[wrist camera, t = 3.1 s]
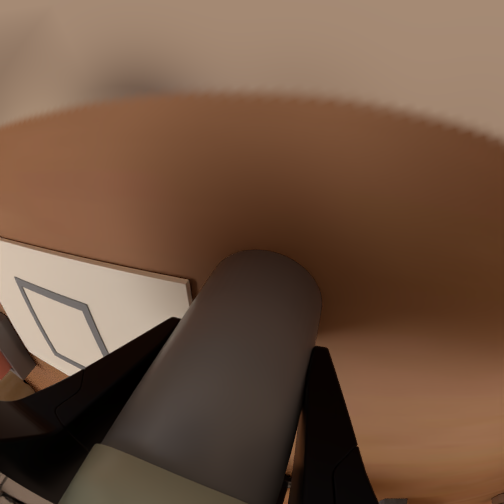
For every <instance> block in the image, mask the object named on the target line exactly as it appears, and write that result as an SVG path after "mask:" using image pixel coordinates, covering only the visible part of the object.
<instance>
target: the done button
mask: <svg viewBox="0 0 504 504" xmlns="http://www.w3.org/2000/svg"><path fill="white" fill-rule="evenodd" d="M11 368H12V367H11V365H10V364H9V363H8V361H7V360H6V358H5V357H4V355H3V354H2V352H1V351H0V380H2V378H3V377H4V376H5V375H6V374H7V372H8V371H9V370H10V369H11Z"/></svg>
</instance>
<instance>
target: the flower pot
mask: <svg viewBox="0 0 504 504" xmlns="http://www.w3.org/2000/svg"><path fill="white" fill-rule="evenodd" d="M33 393H35V391H34V390H33V389H32V388H31V386H30V385H28V384H26V383H24V382H23V380H22V379H21V378H19V377H18V376H17V375H16V374H14V373H13V372H12V371H10V372H9V373H8V374H7V375H5V376H4V377H3V378H2V380H0V400H1V401H14V400H18V399H21V398H24V397H26V396H29V395H31V394H33Z"/></svg>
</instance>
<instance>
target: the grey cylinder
mask: <svg viewBox="0 0 504 504" xmlns="http://www.w3.org/2000/svg"><path fill="white" fill-rule="evenodd" d="M321 308H322V298H321V293H320V290H319V288H318V286H317V284H316V282H315V280H314V279H313V278H312V276H311V275H310V274H309V273H308V272H307V271H306V270H305V269H304V268H303V267H302V266H301V265H299V264H298V263H296V262H295V261H293V260H292V259H290V258H288V257H286V256H284V255H281V254H278V253H275V252H271V251H265V250H246V251H241V252H237V253H235V254H232V255H230V256H228V257H227V258H225V259H224V260H223V261H221V262H220V263H219V265H218V266H217V267H216V268H215V270H214V271H213V273H212V274H211V276H210V277H209V279H208V280H207V282H206V283H205V285H204V286H203V287H202V289H201V290H200V292H199V293H198V295H197V296H196V298H195V299H194V301H193V302H192V304H191V305H190V307H189V308H188V310H187V311H186V313H185V314H184V316H183V317H182V319H181V320H180V322H179V323H178V325H177V326H176V328H175V329H174V331H173V332H172V334H171V335H170V337H169V338H168V340H167V341H166V343H165V344H164V346H163V347H162V349H161V350H160V352H159V354H158V355H157V357H156V358H155V360H154V361H153V363H152V364H151V366H150V367H149V369H148V370H147V372H146V373H145V375H144V376H143V378H142V380H141V381H140V383H139V384H138V386H137V387H136V389H135V390H134V392H133V394H132V395H131V397H130V398H129V400H128V401H127V403H126V404H125V406H124V408H123V409H122V411H121V412H120V414H119V415H118V417H117V419H116V420H115V422H114V423H113V425H112V426H111V428H110V430H109V431H108V433H107V434H106V436H105V438H104V439H103V441H102V442H101V444H95V445H94V446H93V448H92V449H91V451H90V452H89V454H88V456H87V457H86V459H85V460H84V462H83V464H82V465H81V467H80V468H79V470H78V472H77V473H76V475H75V476H74V478H73V480H72V481H71V483H70V485H69V486H68V488H67V490H66V491H65V493H64V494H63V496H62V498H61V499H60V501H59V503H58V504H276V503H277V500H278V496H279V493H280V490H281V486H282V483H283V479H284V476H285V472H286V469H287V465H288V462H289V458H290V454H291V450H292V447H293V443H294V439H295V435H296V431H297V427H298V423H299V419H300V414H301V410H302V406H303V401H304V394H305V387H306V381H307V377H308V372H309V367H310V362H311V357H312V352H313V348H314V346H315V343H316V338H317V332H318V326H319V321H320V315H321Z"/></svg>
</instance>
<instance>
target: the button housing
mask: <svg viewBox="0 0 504 504" xmlns="http://www.w3.org/2000/svg"><path fill="white" fill-rule="evenodd" d="M0 351H1V352H2V354H3V355H4V357H5V358H6V360H7V361H8V363H9V364H10V365H11V367H12V368H11V369H10V370H11V371H12V372H13V373H14V374H16V375H17V376H18V377H19V378H21V379H22V380H24V379H25V378H26V377H27V376H28V374H29V373H30V372H31V371H32V370H33V368H34V367H35V366H36V364H35V363H34V361H33V360H32V358H31V357H30V355H29V353H28V352H27V350H26V349H25V347H24V346H23V344H22V342H21V341H20V339H19V337H18V336H17V334H16V332H15V331H14V329H13V327H12V326H11V324H10V322H9V320H8V318H7V317H6V316H5V315H4V314H2V313H0Z"/></svg>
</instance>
